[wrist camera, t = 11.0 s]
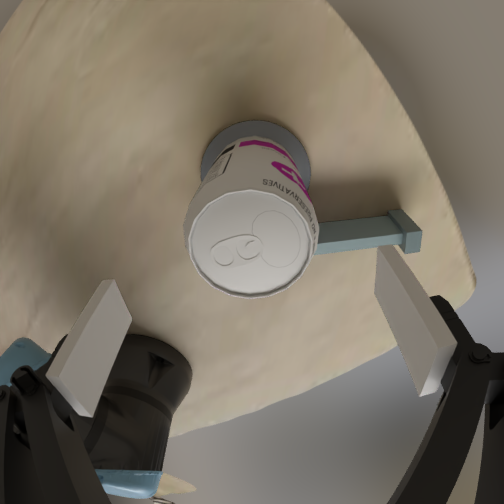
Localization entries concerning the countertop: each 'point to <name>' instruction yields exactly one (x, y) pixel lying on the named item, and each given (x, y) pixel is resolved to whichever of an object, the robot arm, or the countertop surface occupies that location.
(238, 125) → the coaster
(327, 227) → the handle
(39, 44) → the countertop surface
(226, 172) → the supplement can
